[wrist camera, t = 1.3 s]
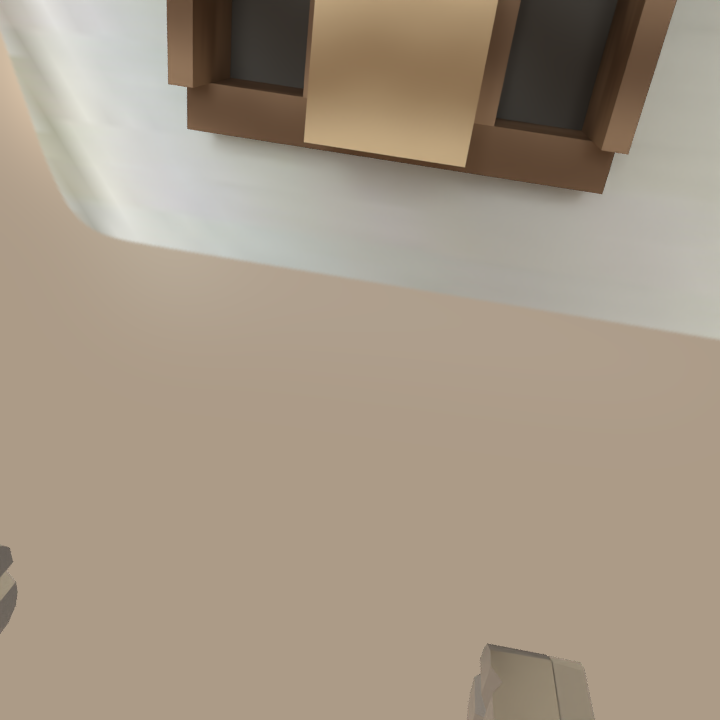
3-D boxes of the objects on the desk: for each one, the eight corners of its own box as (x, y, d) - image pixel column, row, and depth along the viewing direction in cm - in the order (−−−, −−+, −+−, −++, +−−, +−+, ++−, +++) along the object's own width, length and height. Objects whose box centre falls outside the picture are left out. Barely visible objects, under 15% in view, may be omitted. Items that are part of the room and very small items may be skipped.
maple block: (339, -40, 25) (318, -48, 21) (497, -18, 24) (502, -23, 21) (324, 125, 27) (303, 142, 24) (464, 147, 27) (465, 167, 24)
